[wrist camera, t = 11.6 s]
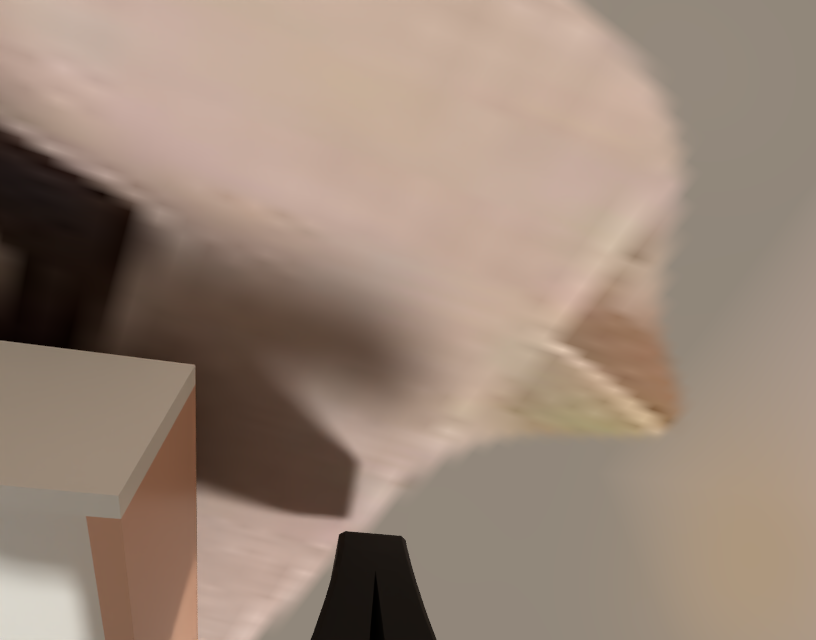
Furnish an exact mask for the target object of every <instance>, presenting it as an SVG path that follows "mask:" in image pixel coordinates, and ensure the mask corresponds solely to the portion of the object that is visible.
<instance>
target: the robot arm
mask: <svg viewBox="0 0 816 640" xmlns="http://www.w3.org/2000/svg"><path fill="white" fill-rule="evenodd" d="M311 640H436V637H435V635H434V632H433V629H432V627H431V624H430V621H429V619H428V616H427V613H426V610H425V607H424V604H423V601H422V598H421V595H420V592H419V589H418V586H417V583H416V579H415V576H414V573H413V569H412V566H411V562H410V558H409V554H408V550H407V545H406V541H405V539H404V538H403V537H402V536H394V535H383V534H371V533H359V532H348V531H345V532H343V533H341V534H339V539H338V544H337V549H336V555H335V560H334V565H333V571H332V576H331V581H330V585H329V588H328V591H327V595H326V598H325V601H324V604H323V607H322V610H321V613H320V615H319V618H318V621H317V624H316V627H315V630H314V633H313V635H312V638H311Z"/></svg>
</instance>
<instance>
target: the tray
mask: <svg viewBox="0 0 816 640" xmlns="http://www.w3.org/2000/svg"><path fill="white" fill-rule="evenodd" d="M0 640H198V625H197V503H196V381H195V365H193V364H185V363H177V362H169V361H161V360H153V359H145V358H137V357H129V356H121V355H113V354H105V353H97V352H89V351H81V350H73V349H65V348H57V347H49V346H41V345H33V344H25V343H17V342H9V341H1V340H0Z"/></svg>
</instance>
